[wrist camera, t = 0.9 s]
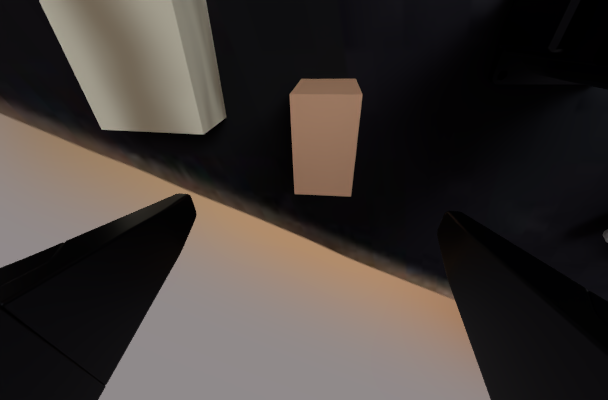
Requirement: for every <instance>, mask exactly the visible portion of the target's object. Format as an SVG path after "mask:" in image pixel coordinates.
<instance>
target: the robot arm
mask: <svg viewBox="0 0 608 400" xmlns="http://www.w3.org/2000/svg"><path fill="white" fill-rule="evenodd" d="M499 46H500V49H499V51H498V54H497V56H496V59H495V62H494V64H493V67H492V70H491V72H490V75H489V80H490V82H492V83H494V84H498V85H589V86H593V87H598V88H603V89H608V0H515V1H514V3H513V6H512V9H511V11H510V14H509V17H508V19H507V22H506V25H505V28H504V30H503V33H502V36H501V38H500V41H499ZM501 71H503V75H502V77H501V78H499V79H498V78H497V76H498V74H499V73H500V72H501ZM195 218H196V210H195V207H194V204H193V201H192V198H191V196H190V195H188V194H175V195H173V196H171V197H168V198H166V199H164V200H161V201H159V202H157V203H155V204H152V205H150V206H147V207H145V208H143V209H140V210H138V211H136V212H133V213H131V214H129V215H126V216H124V217H121V218H119V219H117V220H115V221H112V222H110V223H107V224H105V225H103V226H100V227H98V228H96V229H93V230H91V231H89V232H86V233H84V234H82V235H79V236H77V237H75V238H72V239H70V240H67V241H66V242H65V243H60V244H58V245H56V246H53V247H51V248H49V249H46V250H44V251H41V252H39V253H36V254H34V255H32V256H29V257H27V258H25V259H22V260H19V261H17V262H14V263H12V264H9V265H7V266H4V267H2V268H0V400H98V399H99V397H100V395H101V394H102V392H103V390H104V388H105V385H106V384H107V382H108V381H109V379H110V377H111V375H112V374H113V372H114V370H115V368H116V367H117V365H118V363H119V361H120V360H121V358H122V356H123V354H124V352H125V351H126V349H127V347H128V345H129V344H130V342H131V340H132V338H133V337H134V335H135V333H136V331H137V329H138V328H139V326H140V324H141V322H142V321H143V319H144V317H145V315H146V313H147V311H148V310H149V308H150V306H151V305H152V302H153V301H154V299H155V297H156V296H157V294H158V292H159V290H160V289H161V287H162V285H163V283H164V281H165V280H166V278H167V276H168V274H169V273H170V271H171V269H172V267H173V265H174V264H175V262H176V260H177V258H178V257H179V255H180V253H181V251H182V249H183V246H184V244H185V242H186V240H187V237H188V235H189V233H190V230H191V228H192V226H193V223H194V221H195ZM437 236H438V240H439V245H440V249H441V254H442V258H443V262H444V267H445V271H446V275H447V278H448V281H449V284H450V287H451V290H452V293H453V295H454V298H455V301H456V304H457V306H458V309H459V312H460V315H461V318H462V320H463V323H464V326H465V329H466V332H467V334H468V337H469V340H470V343H471V345H472V348H473V351H474V354H475V357H476V359H477V362H478V365H479V368H480V371H481V373H482V376H483V379H484V382H485V385H486V387H487V390H488V393H489V396H490V399H491V400H608V302H607V301H606V300H604V299H602V298H601V297H599V296H598V295H596V294H594V293H593V292H591V291H587V289H586V288H584V287H583V286H581V285H580V284H578V283H576V282H575V281H573V280H571V279H570V278H568V277H566V276H565V275H563V274H562V273H560V272H558V271H557V270H555V269H553V268H552V267H550V266H549V265H547V264H545V263H544V262H542V261H540V260H539V259H537V258H535V257H534V256H532V255H531V254H529V253H527V252H526V251H524V250H522V249H521V248H519V247H517V246H516V245H514V244H513V243H511V242H509V241H508V240H506V239H504V238H503V237H501V236H500V235H498V234H496V233H495V232H493V231H491V230H490V229H488V228H486V227H485V226H483V225H482V224H480V223H478V222H477V221H475V220H473V219H472V218H470V217H469V216H467V215H465V214H464V213H462V212H458V211H447V212H446V213H445V214H444V216H443V219H442V221H441V223H440V226H439V228H438V232H437Z"/></svg>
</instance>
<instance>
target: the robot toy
mask: <svg viewBox="0 0 608 400" xmlns="http://www.w3.org/2000/svg"><path fill="white" fill-rule="evenodd" d="M603 237H604V238H605V241H606V242H607V243H608V229H607V230H605V231H604V233H603Z"/></svg>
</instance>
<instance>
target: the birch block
mask: <svg viewBox="0 0 608 400" xmlns="http://www.w3.org/2000/svg"><path fill="white" fill-rule="evenodd" d="M39 1H40V3H41V5H42V8H43V10H44V12H45V14H46V16H47V18H48V20H49V22H50V24H51V26H52V28H53V30H54V32H55V34H56V36H57V38H58V41H59V43H60V45H61V47H62V49H63V51H64V53H65V55H66V57H67V59H68V61H69V63H70V65H71V67H72V69H73V71H74V74H75V76H76V78H77V80H78V82H79V84H80V86H81V88H82V90H83V92H84V94H85V96H86V98H87V100H88V102H89V104H90V107H91V109H92V111H93V113H94V115H95V117H96V119H97V121H98V123H99V125H100V127H101V129H102V130H121V131H141V132H161V133H182V134H202V135H204V134H205V133H207V132H208V131H209V130H210V129H212V128H213V127H214V126H216V125H217V124H218V123H220V122H221V121H222V120H224V119H225V118H226V112H225V106H224V101H223V95H222V89H221V84H220V78H219V72H218V67H217V61H216V55H215V49H214V44H213V38H212V32H211V27H210V21H209V15H208V9H207V4H206V0H39Z"/></svg>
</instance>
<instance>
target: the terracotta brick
mask: <svg viewBox="0 0 608 400" xmlns="http://www.w3.org/2000/svg"><path fill="white" fill-rule="evenodd" d="M361 103H362V92H361V90H360V87H359V85H358V83H357V80H356V79H301V80H300V82H299V83H298V84H297V85H296V87H295V88H294V89H293V91H292V92H291V93H290V113H291V133H292V153H293V173H294V193H295V194H305V195H326V196H348V197H351V192H352V183H353V174H354V166H355V157H356V148H357V139H358V130H359V121H360V112H361Z"/></svg>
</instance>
